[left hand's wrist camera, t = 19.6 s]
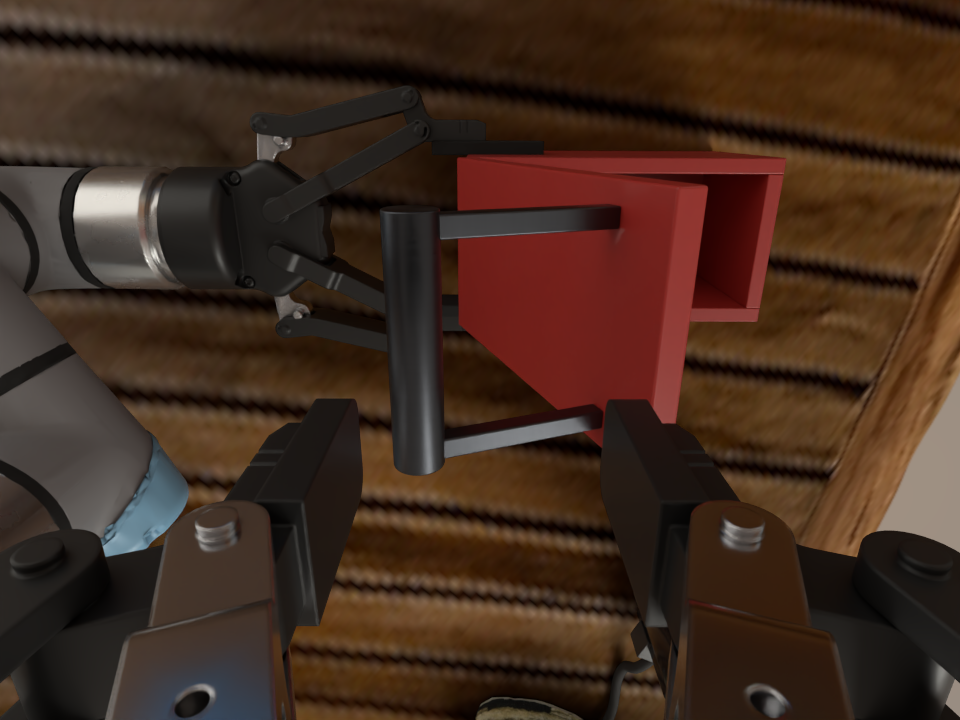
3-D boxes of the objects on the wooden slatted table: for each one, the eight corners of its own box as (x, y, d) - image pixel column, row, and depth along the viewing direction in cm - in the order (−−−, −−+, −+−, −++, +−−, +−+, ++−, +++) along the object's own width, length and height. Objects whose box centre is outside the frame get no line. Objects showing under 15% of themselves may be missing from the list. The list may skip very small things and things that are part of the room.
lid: (710, 185, 16) (406, 195, 13) (669, 478, 19) (419, 537, 16) (475, 157, 31) (312, 159, 29) (475, 322, 35) (329, 339, 32)
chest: (714, 151, 42) (787, 158, 32) (696, 279, 45) (757, 321, 35) (469, 150, 42) (466, 156, 32) (469, 278, 45) (466, 320, 35)
